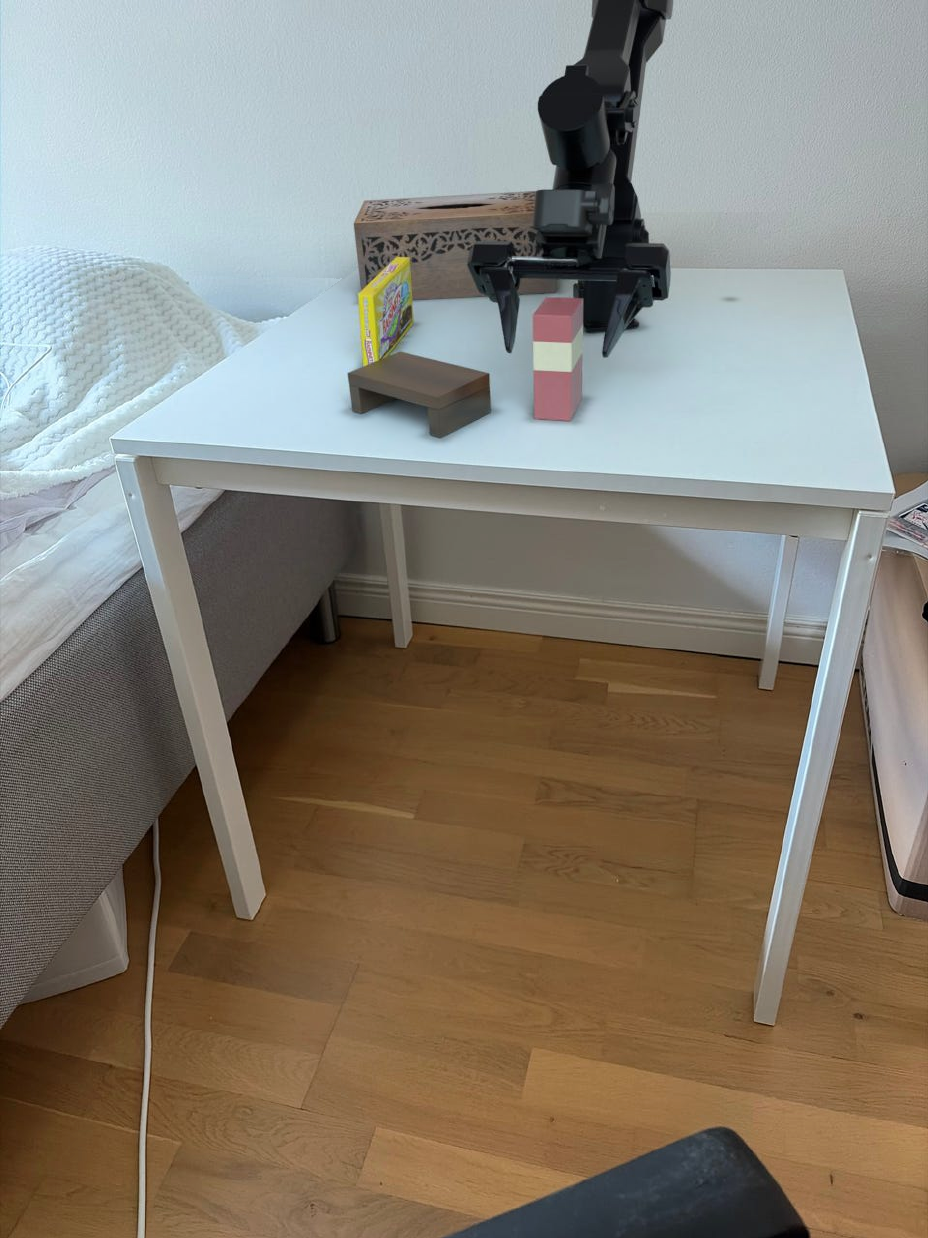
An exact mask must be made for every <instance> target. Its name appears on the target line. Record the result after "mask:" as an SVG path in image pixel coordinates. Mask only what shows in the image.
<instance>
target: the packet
mask: <svg viewBox="0 0 928 1238" xmlns="http://www.w3.org/2000/svg"><path fill="white" fill-rule="evenodd" d="M583 352H584V329H583V298H573V297H556V296H555V297H549V296H546V297H545V298H544V299H543V301H542V302H541V304H540V305H539V306H538V307H537V308H536V310H535V312H534V313H533V314H532V370H533V418H534V419H535V420H546V421H547V420H548V421H563V422H564V421H565V422H571V421H572V420H573V418H574V415H576V414H575V413H576V412H577V410H578V408H579V406H580V403H581V402H582V400H583V356H584V355H583Z"/></svg>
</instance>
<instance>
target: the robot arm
mask: <svg viewBox="0 0 928 1238" xmlns="http://www.w3.org/2000/svg"><path fill="white" fill-rule="evenodd" d="M673 8H674V0H591V18H592V20H591V24H590V29H589V32H588V37H587V41H586V45H585V49H584V53H583V56H582V58H581V59H579V60H578V61H577V62H575V63H574V64H567V65H565V70H564V75H562V76H560V77H559V78H557V79H554V80H552V82H550V83H549V84H548V85H547V86H546V88H544V90H543V91H542V93H541V95H540V96H539V97H538V101H537V113H538V118H539V121H540V126H541V129H542V133H543V137H544V142H545V146H546V150H547V154H548V158H549V162H550V163H551V164H552V166H555V170H554V175H553V182H552V188H551V189H538V190H535V191H536V192H535V205H534V217H533V229H534V230H537V235H536V245H537V248H542V254H541V257H527V256H517V255H516V252H515V249H514V246H513V243H512V241H477V242H476V243H475V244H474V245H473V246H472V248H471V249H470V251H469V256H468V262H467V266H468V268H469V271H470V273H471V275H472V278H473V280H474V282H475V284H476V287H477V289H478V291H479V293H482V294H484V295H488V296H487V298H488V299H489V301H490V302H492V303H495V304H497V306H498V311H499V318H500V323H501V329H502V335H503V342H504V347H505V351H506V353H507V354H512V353H513V349H514V346H515V342H516V335H517V326H518V318H519V309H520V301H521V299H520V296H519V294H518V293H517V290H518V289H519V286H520V280H521V278H528V279H556V280H562V281H577V282H574V283H573V286H572V288H573V289H572V298H583V331H584V332H585V333H597V332H604V334H603V335H604V336H603V341H602V342H603V343H602V351H601V353H602V358H604V359H605V358H609V356H610V354H611V353H612V351H613V350H614V348H615V346H616V345H617V343H618V342H619V340H620V339H621V337H622V335H623V334H624V332H625V331H626V329H633V328H639V327H640V322H639V321H638V320H637V319H636V316H638V314H639V313H640V312H641V310H643V308H644V309H645V308H652V307H653V305H654V301H661V302H662V301H665V300H667V299H669V294H670V286H671V279H672V278H671V276H672V272H671V271H672V270H671V255H670V254H671V253H670V250H669V248H668V246H666V245H665V243H662V242H660V243H659V242H655V243H654V242H653V243H652V242H650V232H649V231H648V230H647V228H646V224H645V223H646V222H645V219H644V218H642V213H641V212H642V211H641V208H640V203H639V198H638V195H637V192H636V190H635V188H634V185H633V183H632V179H633V172H634V163H635V156H636V147H637V140H638V131H639V123H640V116H641V106H642V98H643V91H644V84H645V75H646V68H647V63H648V62H649V60H650V59H651V58H652V57H653V55H654V54H655V53H656V52H657V50H659V48H660V47H661V46H662V44H663V42H664V36H665V31H666V25H667V20H672V16H673V10H674V9H673Z"/></svg>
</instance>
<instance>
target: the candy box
mask: <svg viewBox="0 0 928 1238" xmlns="http://www.w3.org/2000/svg"><path fill="white" fill-rule="evenodd" d="M357 304H358V305H357V306H358V316H359V318H358V319H359V331H360V333H359V334H360V344H361V345H360V347H361V355H362V367H363V366H366V365H368V364H371V363H373V362H375V361H378V360H380V359H383V358H385V357H387V356H390V355H391V353H392V351H393V350H394V349H395V348H396V346H397V345H398V344H399V343H400V341H401V340H402V339H403V337H404V336H406V334H407V333H408V331H409V330H410V329H411V328H412V326H413V325H414V308H413V300H412V286H411V270H410V258H409V257H396V258H395V259H394V260H393V261H392V262H391V263H390V264H389V265H388V266H387V267H385V268H384V269H383V270H382V271H381V272H380V273H379V274H378V275H377V276H376V277H375V278H374V279H373V280H372V281H371V282H370V283H369V284H368V285H367V286H366V287H365V288H364V289H363V290H362V291H361V290H360V291H359V292H358V293H357Z"/></svg>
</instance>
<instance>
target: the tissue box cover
mask: <svg viewBox="0 0 928 1238" xmlns="http://www.w3.org/2000/svg"><path fill="white" fill-rule="evenodd" d="M536 191H537V190H527V191H525V190H524V191H511V192H510V191H509V192H492V193H491V192H490V193H475V194H473V193H472V194H460V195H459V194H458V195H457V194H456V195H439V196H423V197H422V196H420V197H405V198H403V197H402V198H387V199H367V200H364V201H363V202H362V205H361V207H360V209H359V211H358V213H357V215H356V217H355V220H354V221H353V231H354V240H355V249H356V258H357V265H358V266H357V267H358V274H359V275H358V276H359V284H360V292H361V291H362V290H363V289H364V288H365V287H366V286H367V285H368V284H369V283H370V282H371V281H372V280H373V279H374V278H375V277H376V276H377V275H378V274H379V273H380V272H381V271H382V270H383V269H384V268H385V267H387V266H388V265H389V264H390V263H391V262H392V261H393V260H394V259H395V258H396V257H409V258H410V270H411V286H412V301H414V300H415V301H418V300H421V301H422V300H437V299H456V298H458V299H459V298H474V297H475V298H478V297H488V295H484V294H482V293H479V291H478V289H477V287H476V284H475V282H474V280H473V278H472V275H471V273H470V271H469V268H468V266H467V262H468V256H469V251H470V249H471V248H472V246H473V245H474V244H475V243H476V242H477V241H512V243H513V246H514V249H515V252H516V255H517V256H527V257H541V254H542V248H537V245H536V235H537V230H534V229H533V217H534V205H535V192H536ZM556 280H557V279H528V278H521V280H520V286H519V289H518V290H517V293H518V295H532V294H533V295H534V294H535V295H536V294H554V293H557V292H556V291H557V290H556V289H557V283H556Z"/></svg>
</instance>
